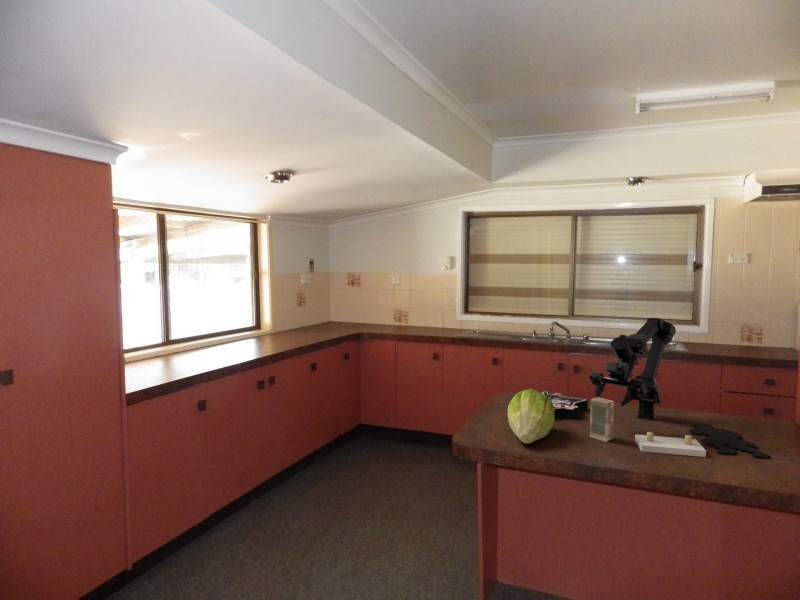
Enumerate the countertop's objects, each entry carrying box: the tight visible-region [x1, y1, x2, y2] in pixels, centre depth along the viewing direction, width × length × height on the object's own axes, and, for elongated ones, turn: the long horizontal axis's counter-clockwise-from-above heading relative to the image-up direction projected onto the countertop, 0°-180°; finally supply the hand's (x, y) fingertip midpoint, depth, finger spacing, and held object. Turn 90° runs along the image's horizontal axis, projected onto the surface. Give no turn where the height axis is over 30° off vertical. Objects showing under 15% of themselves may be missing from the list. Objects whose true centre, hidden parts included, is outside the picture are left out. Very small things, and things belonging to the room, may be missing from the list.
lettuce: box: [506, 388, 556, 444], centre depth 170 cm, size 15×24×16 cm
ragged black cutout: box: [688, 422, 771, 460], centre depth 166 cm, size 16×1×30 cm
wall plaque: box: [518, 390, 589, 420], centre depth 199 cm, size 28×4×30 cm
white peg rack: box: [634, 431, 707, 458], centre depth 158 cm, size 10×18×4 cm, turn 75°
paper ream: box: [589, 397, 615, 442], centre depth 167 cm, size 4×6×13 cm
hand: (608, 402), depth 170 cm, fingers open, 9 cm apart
